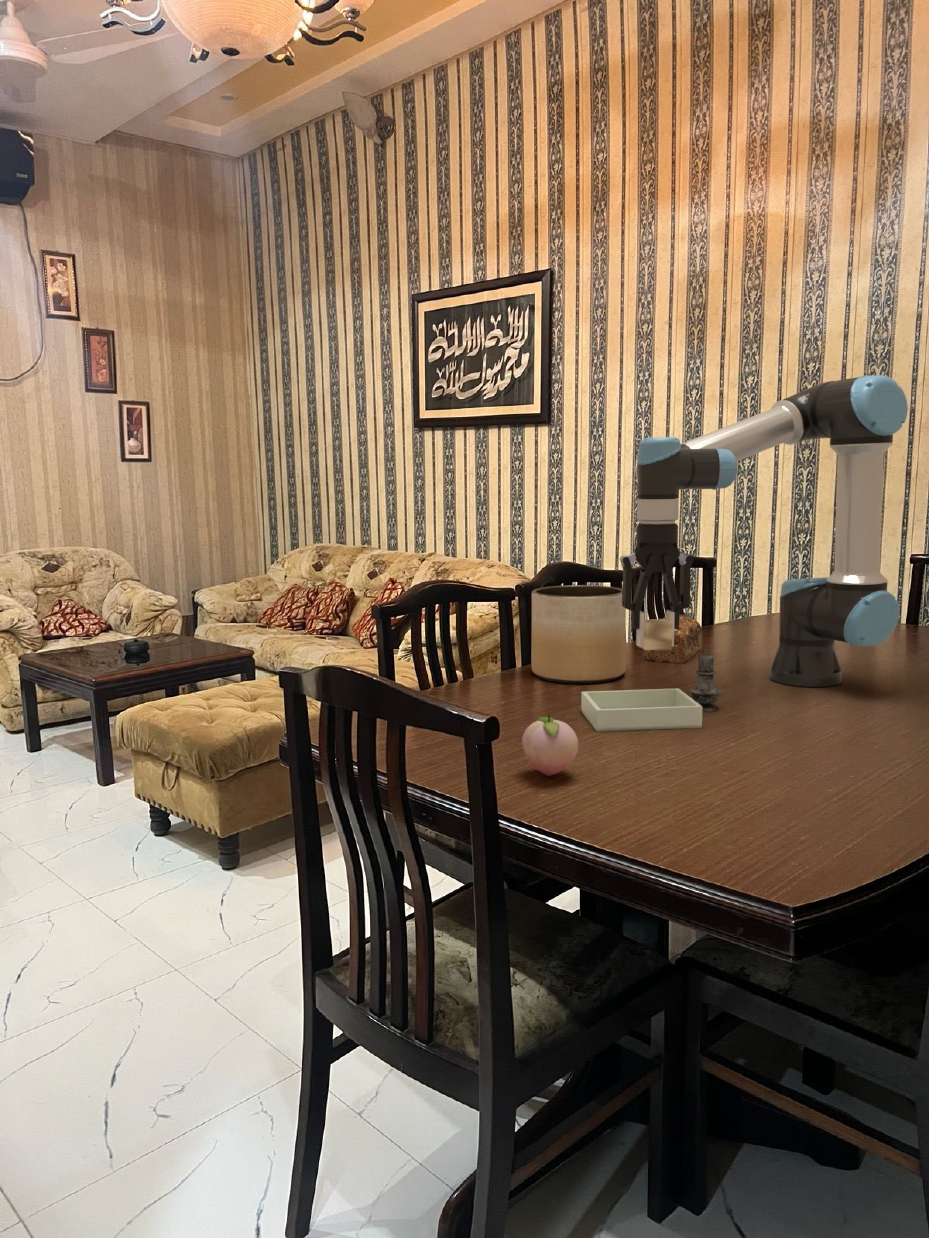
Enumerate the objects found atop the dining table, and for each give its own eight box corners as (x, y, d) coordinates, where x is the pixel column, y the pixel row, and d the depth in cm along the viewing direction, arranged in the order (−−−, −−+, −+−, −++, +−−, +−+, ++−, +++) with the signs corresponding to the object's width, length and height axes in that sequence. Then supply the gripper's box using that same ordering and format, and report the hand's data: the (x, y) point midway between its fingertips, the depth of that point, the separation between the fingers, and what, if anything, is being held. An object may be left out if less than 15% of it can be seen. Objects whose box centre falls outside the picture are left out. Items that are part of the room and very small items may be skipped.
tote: (678, 707, 180) (678, 688, 179) (701, 727, 166) (702, 706, 165) (581, 711, 179) (581, 691, 178) (596, 731, 164) (597, 710, 164)
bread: (663, 648, 242) (663, 612, 241) (703, 651, 238) (703, 614, 236) (643, 661, 226) (644, 622, 224) (686, 665, 221) (686, 625, 220)
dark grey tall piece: (721, 712, 176) (722, 652, 174) (690, 711, 177) (691, 651, 176) (719, 704, 182) (720, 646, 180) (689, 703, 183) (690, 646, 181)
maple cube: (664, 644, 173) (665, 619, 172) (671, 649, 168) (672, 623, 167) (638, 645, 172) (639, 619, 172) (645, 650, 168) (645, 623, 167)
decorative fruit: (587, 782, 138) (587, 718, 136) (537, 788, 135) (537, 723, 134) (563, 763, 146) (563, 704, 145) (516, 769, 144) (515, 708, 143)
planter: (617, 688, 198) (618, 598, 195) (520, 682, 205) (520, 595, 202) (632, 667, 219) (633, 585, 216) (543, 663, 226) (543, 584, 223)
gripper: (698, 520, 171) (695, 641, 174) (604, 522, 170) (603, 643, 173) (712, 522, 164) (708, 648, 167) (614, 523, 162) (612, 650, 166)
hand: (654, 645), depth 170 cm, fingers closed on maple cube, 5 cm apart
